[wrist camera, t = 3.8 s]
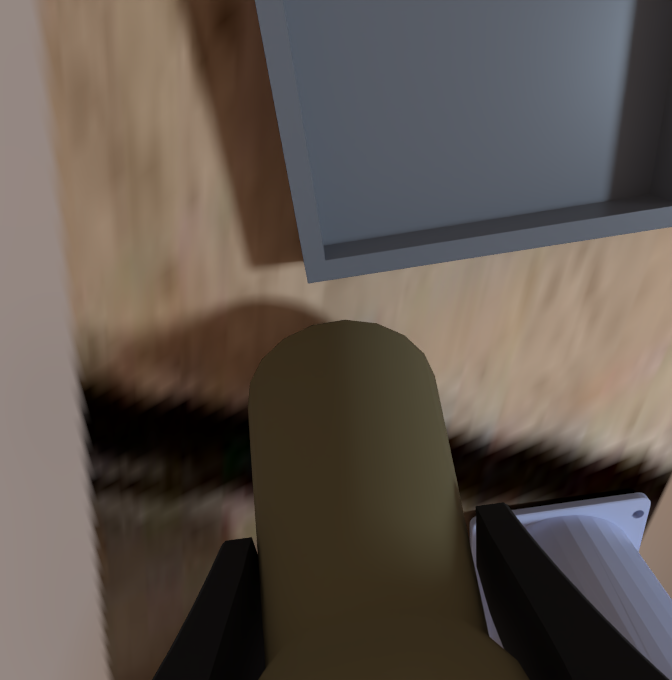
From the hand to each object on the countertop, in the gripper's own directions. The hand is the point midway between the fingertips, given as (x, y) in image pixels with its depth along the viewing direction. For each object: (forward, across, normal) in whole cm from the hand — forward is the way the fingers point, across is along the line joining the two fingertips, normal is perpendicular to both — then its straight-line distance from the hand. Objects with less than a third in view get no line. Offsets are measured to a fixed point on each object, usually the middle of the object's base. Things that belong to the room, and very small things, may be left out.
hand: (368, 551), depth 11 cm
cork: (+5, 0, 0) cm, 5 cm away
